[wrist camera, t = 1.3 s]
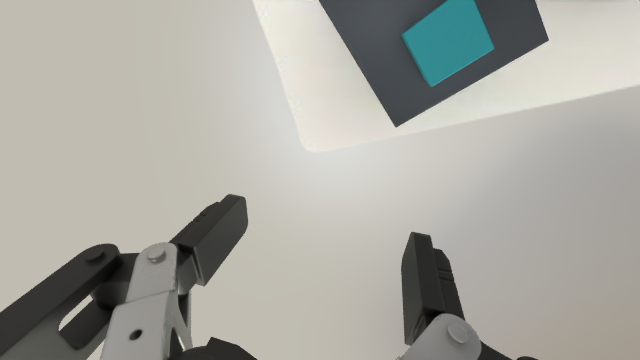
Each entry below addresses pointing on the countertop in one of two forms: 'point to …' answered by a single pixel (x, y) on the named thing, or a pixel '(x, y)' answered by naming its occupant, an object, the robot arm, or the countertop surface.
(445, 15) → the teal cube
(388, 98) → the dark grey drawer cabinet
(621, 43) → the countertop surface
